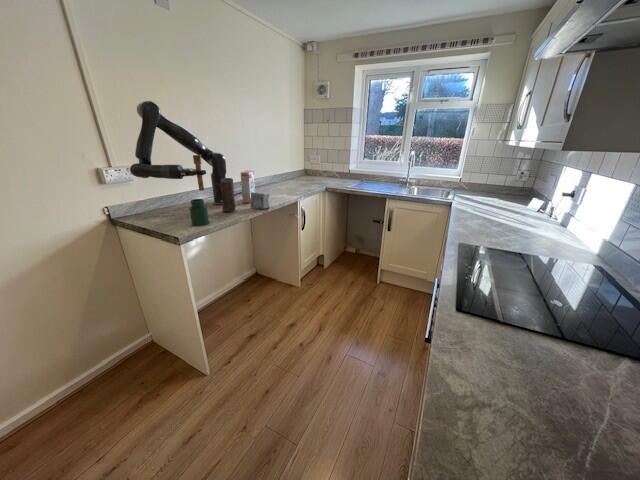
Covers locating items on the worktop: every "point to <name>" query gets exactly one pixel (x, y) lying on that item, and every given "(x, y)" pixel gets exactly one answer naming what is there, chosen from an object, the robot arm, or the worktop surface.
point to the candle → (227, 194)
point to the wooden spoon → (198, 168)
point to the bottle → (198, 212)
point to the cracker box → (247, 185)
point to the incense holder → (259, 200)
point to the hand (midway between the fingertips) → (204, 172)
